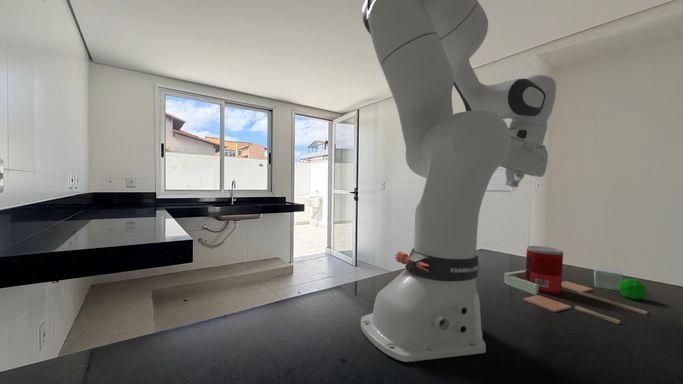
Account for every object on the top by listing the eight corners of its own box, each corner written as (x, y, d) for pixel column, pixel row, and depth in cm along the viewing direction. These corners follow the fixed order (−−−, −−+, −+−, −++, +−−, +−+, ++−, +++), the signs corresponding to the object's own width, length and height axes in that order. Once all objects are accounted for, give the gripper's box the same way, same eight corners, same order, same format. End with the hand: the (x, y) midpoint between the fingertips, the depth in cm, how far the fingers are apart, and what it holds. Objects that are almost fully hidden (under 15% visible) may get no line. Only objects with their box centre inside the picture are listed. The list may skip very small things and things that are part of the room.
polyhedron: (645, 298, 71) (646, 280, 71) (646, 304, 68) (647, 284, 68) (618, 293, 75) (619, 275, 75) (617, 297, 72) (618, 279, 72)
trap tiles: (554, 312, 62) (555, 310, 62) (506, 293, 72) (506, 291, 72) (615, 296, 72) (615, 295, 72) (565, 282, 82) (566, 281, 82)
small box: (593, 282, 84) (594, 265, 84) (620, 287, 80) (620, 270, 80) (594, 286, 80) (594, 269, 80) (622, 292, 76) (623, 274, 76)
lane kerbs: (617, 323, 57) (617, 321, 57) (550, 300, 68) (550, 298, 68) (647, 314, 62) (647, 311, 62) (580, 293, 74) (580, 291, 74)
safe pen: (535, 294, 72) (536, 283, 71) (503, 283, 79) (504, 273, 79) (565, 288, 77) (566, 278, 77) (532, 278, 85) (533, 268, 85)
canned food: (568, 294, 72) (570, 252, 72) (538, 294, 72) (541, 251, 72) (545, 284, 80) (547, 246, 80) (518, 283, 80) (520, 245, 80)
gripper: (536, 146, 85) (524, 190, 86) (490, 129, 77) (477, 178, 78) (559, 146, 79) (545, 194, 80) (511, 128, 71) (496, 181, 72)
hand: (511, 186), depth 79 cm, fingers closed
